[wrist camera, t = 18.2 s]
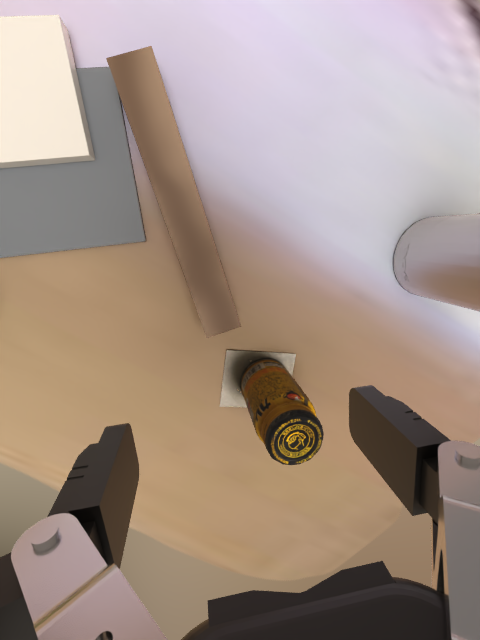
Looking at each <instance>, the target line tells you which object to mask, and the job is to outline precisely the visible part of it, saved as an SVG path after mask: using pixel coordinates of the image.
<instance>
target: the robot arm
mask: <svg viewBox="0 0 480 640" xmlns="http://www.w3.org/2000/svg"><path fill="white" fill-rule="evenodd" d="M394 271H395V275H396V278H397V280H398V282H399V283H400V285H401V286H402V287H403V288H404V289H405V290H407V291H408V292H410V293H412V294H415V295H419V296H423V297H427V298H430V299H434V300H438V301H441V302H445V303H449V304H453V305H457V306H461V307H464V308H468V309H472V310H476V311H480V213H478V214H465V215H450V216H437V217H428V218H425V219H422V220H419V221H418V222H416V223H415V224H413V225H412V226H411V227H410V228H408V229H407V230H406V232H405V233H404V234H403V236H402V237H401V239H400V241H399V242H398V244H397V247H396V250H395V254H394ZM349 428H350V433H351V436H352V438H353V440H354V442H355V443H356V445H357V446H358V447H359V448H360V450H361V451H362V452H363V454H364V455H365V456H366V457H367V459H368V460H369V461H370V462H371V464H372V465H373V466H374V468H375V469H376V470H377V471H378V473H379V474H380V475H381V476H382V478H383V479H384V480H385V482H386V483H387V484H388V485H389V487H390V488H391V489H392V490H393V492H394V493H395V494H396V496H397V497H398V498H399V499H400V501H401V502H402V503H403V504H404V506H405V507H406V508H407V510H408V511H409V512H410V513H411V515H412V516H414V515H419V514H424V513H429V515H430V516H431V517H432V523H431V545H432V546H431V548H432V549H431V552H432V588H430V587H428V586H426V585H423V584H421V583H418V582H414V581H411V580H408V579H402V578H396V577H392V576H391V575H390V573H389V571H388V570H387V568H386V566H385V565H384V563H383V561H380V562H376V563H371V564H367V565H362V566H358V567H354V568H349V569H345V570H341V571H339V572H338V573H336V574H334V575H332V576H331V577H329V578H327V579H326V580H324V581H322V582H320V583H319V584H317V585H315V586H314V587H312V588H310V589H308V590H307V591H305V592H301V593H288V592H272V591H255V590H253V591H248V592H244V593H239V594H235V595H230V596H226V597H221V598H218V599H213V600H208V617H209V619H208V620H206V621H204V622H202V623H201V624H199V625H198V626H197V627H195V628H194V629H192V630H191V631H190V632H189V633H188V634H187V635H186V636H185V637H183V638H182V639H181V640H480V446H477V445H475V444H472V443H468V442H463V441H451V440H449V439H448V438H447V437H446V436H444V435H443V434H442V433H441V432H439V431H438V430H437V429H436V428H434V427H433V426H432V425H431V424H429V423H428V422H427V421H426V420H424V419H422V418H421V416H419V415H418V414H417V413H415V412H413V410H412V409H410V408H409V407H408V406H407V405H405V404H404V403H403V402H401V401H399V400H396V399H394V398H392V397H389V396H385V395H383V394H382V393H381V392H380V391H379V390H377V389H376V388H375V387H374V386H372V385H369V386H363V387H357V388H352V389H351V390H350V393H349ZM138 480H139V463H138V458H137V453H136V448H135V443H134V438H133V434H132V429H131V426H130V424H129V423H127V424H120V425H114V426H108V427H106V428H105V429H104V432H103V434H102V436H101V438H100V441H99V443H96V444H90V445H89V446H88V447H87V448H86V449H85V450H84V451H83V452H82V453H81V454H80V455H79V456H78V458H77V460H76V461H75V463H74V465H73V467H72V470H71V471H70V473H69V475H68V477H67V481H65V483H64V485H63V487H62V489H61V491H60V493H59V495H58V497H57V499H56V501H55V503H54V505H53V507H52V509H51V511H50V513H49V515H48V517H47V518H44V519H42V520H41V521H39V522H37V523H36V524H34V525H33V526H31V527H30V528H29V529H27V530H26V531H25V532H24V533H23V534H22V535H21V537H20V538H19V539H18V541H17V542H16V543H15V545H14V547H13V550H12V552H11V553H9V554H7V555H5V556H2V557H0V640H167V638H166V637H165V635H164V634H163V633H162V631H161V630H160V628H159V627H158V625H157V624H156V622H155V621H154V619H153V618H152V616H151V615H150V614H149V612H148V611H147V609H146V608H145V606H144V605H143V603H142V602H141V600H140V599H139V598H138V596H137V595H136V593H135V592H134V590H133V589H132V588H131V586H130V584H129V583H128V581H127V580H126V579H125V577H124V576H123V574H122V573H121V571H120V565H121V560H122V556H123V551H124V546H125V542H126V537H127V532H128V527H129V523H130V518H131V513H132V509H133V504H134V499H135V495H136V490H137V485H138Z"/></svg>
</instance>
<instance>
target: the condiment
mask: <svg viewBox="0 0 480 640" xmlns="http://www.w3.org/2000/svg"><path fill="white" fill-rule="evenodd" d="M295 358H296V354H289V353H275V352H253V351H233V350H227V351H226V358H225V366H224V374H223V383H222V392H221V400H220V407H247V408H248V411H249V413H250V416H251V419H252V422H253V425H254V427H255V430H256V433H257V435H258V436H259V438H260V439H261V441H262V442H263V443H264V444H265V446H266V449H267V451H268V452H269V454H270V456H271V457H272V458H273V459H274V460H276V461H278V462H280V463H282V464H286V465H297V464H301V463H303V462H305V461H308V460H310V459H311V458H312V457H313V456H314V455H315V454H316V453H317V452H318V450H319V449H320V447H321V444H322V440H323V435H324V434H323V429H322V425H321V423H320V421H319V420H318V418H317V417H316V412H315V409H314V407H313V405H312V403H311V402H310V400H309V398H308V397H307V396H306V394H304V392H303V391H302V389H301V387H300V386H299V385H298V384H297V382H296V381H295V379H294V378H293V377H292V373H293V369H294V363H295ZM237 389H238V390H239V391H237ZM240 391H241V393H240Z"/></svg>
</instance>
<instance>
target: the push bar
mask: <svg viewBox="0 0 480 640" xmlns="http://www.w3.org/2000/svg"><path fill="white" fill-rule="evenodd" d="M106 59H107V62H108V65H109V67H110V70H111V73H112V76H113V79H114V81H115V84H116V87H117V90H118V93H119V95H120V98H121V101H122V104H123V106H124V109H125V112H126V115H127V118H128V120H129V123H130V126H131V129H132V132H133V134H134V137H135V140H136V143H137V145H138V148H139V151H140V154H141V157H142V159H143V162H144V165H145V168H146V170H147V173H148V176H149V179H150V182H151V184H152V187H153V190H154V193H155V196H156V198H157V201H158V204H159V207H160V209H161V212H162V215H163V218H164V221H165V223H166V226H167V229H168V232H169V234H170V237H171V240H172V243H173V246H174V248H175V251H176V254H177V257H178V260H179V262H180V265H181V268H182V271H183V273H184V276H185V279H186V282H187V285H188V287H189V290H190V293H191V296H192V299H193V301H194V304H195V307H196V310H197V312H198V315H199V318H200V321H201V324H202V326H203V329H204V332H205V335H206V337H207V338H209V337H212V336H215V335H217V334H220V333H223V332H226V331H229V330H232V329H235V328H238V327H241V324H240V321H239V318H238V314H237V311H236V308H235V305H234V302H233V299H232V296H231V293H230V289H229V286H228V283H227V280H226V277H225V274H224V271H223V268H222V265H221V261H220V258H219V255H218V252H217V249H216V246H215V243H214V240H213V237H212V233H211V230H210V227H209V224H208V221H207V218H206V215H205V212H204V208H203V205H202V202H201V199H200V196H199V193H198V190H197V187H196V184H195V180H194V177H193V174H192V171H191V168H190V165H189V162H188V159H187V156H186V152H185V149H184V146H183V143H182V140H181V137H180V134H179V131H178V127H177V124H176V121H175V118H174V115H173V112H172V109H171V106H170V103H169V99H168V96H167V93H166V90H165V87H164V84H163V81H162V78H161V75H160V71H159V68H158V65H157V62H156V59H155V56H154V53H153V50H152V46H149V47H146V48H142V49H139V50H135V51H131V52H128V53H124V54H120V55H117V56H113V57H109V58H106Z"/></svg>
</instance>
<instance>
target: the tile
mask: <svg viewBox="0 0 480 640" xmlns="http://www.w3.org/2000/svg"><path fill="white" fill-rule="evenodd" d="M94 160H95V156H94V151H93V146H92V142H91V137H90V132H89V128H88V123H87V118H86V114H85V109H84V104H83V100H82V95H81V90H80V86H79V81H78V76H77V72H76V67H75V62H74V58H73V53H72V48H71V44H70V39H69V34H68V30H67V28H66V27H65V25H64V23H63V21H62V20H61V18H60V16H59V15H42V16H10V17H0V168H12V167H24V166H35V165H47V164H59V163H70V162H82V161H94Z"/></svg>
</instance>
